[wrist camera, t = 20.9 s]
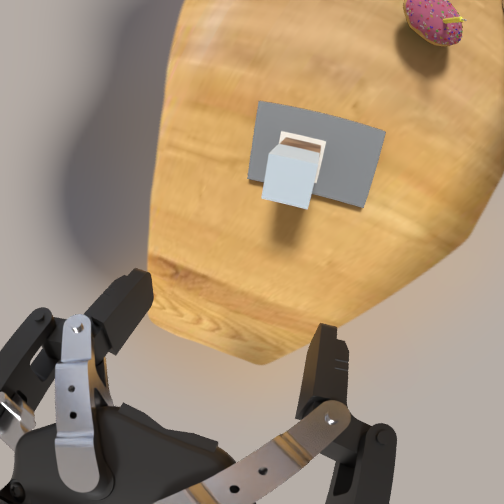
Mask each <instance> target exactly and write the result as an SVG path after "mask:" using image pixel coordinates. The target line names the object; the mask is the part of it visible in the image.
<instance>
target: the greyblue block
mask: <svg viewBox="0 0 504 504" xmlns="http://www.w3.org/2000/svg"><path fill="white" fill-rule="evenodd" d="M319 155H320V153H318V152H314V151H310V150H305V149H301V148H296V147H292V146H287V145H282V144H278V145H277V146H276V147H275V148H274V149H273V150H272V151H271V152H270V153H269V155H268V161H267V168H266V174H265V180H264V186H263V192H262V199H266V200H271V201H275V202H279V203H283V204H287V205H292V206H296V207H300V208H304V209H308V206H309V202H310V198H311V194H312V189H313V185H314V181H315V177H316V172H317V168H318V163H319Z"/></svg>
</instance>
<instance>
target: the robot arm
mask: <svg viewBox="0 0 504 504" xmlns="http://www.w3.org/2000/svg"><path fill="white" fill-rule="evenodd" d="M502 4H503V9H504V0H502ZM153 298H154V295H153V287H152V279H151V274H150V273H149V272H146V271H143V270H140V269H137V268H135V269H133V271H131V273H130V274H129V275H128V276H125V275H124V276H122V277H120V278H118V279H116V280H115V281H114V282H113V283H112V284H111V285H110V286H109V287H108V288H107V289H106V290H105V291H104V292H103V294H102V295H100V297H99V298H98V299H97V300H96V301H95V302H94V303H93V304H92V305H91V306H90V308H89V309H88V310H87V311H86V312H85V313H84V314H83V315H82V314H76V315H73V316H71V317H69V318H68V319H61V318H55V317H53V315H52V313H51V311H50V310H49V309H47V308H38V309H36V310H34V311H33V312H32V313H31V314H30V315H29V316H28V317H27V319H26V320H25V321H24V322H23V323H22V324H21V326H20V327H19V328H18V329H17V330H16V332H15V333H14V334H13V336H12V337H11V338H10V339H9V341H8V342H7V343H6V344H5V346H4V347H3V349H2V350H1V351H0V438H1V439H2V440H3V441H4V442H5V443H6V444H7V445H8V446H9V447H10V448H11V449H12V450H13V451H14V452H15V463H14V471H13V475H12V478H11V480H10V482H9V483H8V484H7V485H6V486H5V487H4V488H3V489H1V490H0V504H256V501H258V500H259V499H261V498H262V497H264V496H265V495H267V494H268V493H269V492H271V491H273V490H274V489H275V488H277V487H278V486H279V485H281V484H282V483H284V482H285V481H286V480H288V479H289V478H290V477H292V476H293V475H294V474H296V473H297V472H298V471H299V470H301V469H302V468H303V467H304V466H306V465H307V464H308V463H309V462H310V460H312V459H313V458H314V457H315V456H316V455H318V454H319V453H321V454H322V455H325V456H327V457H329V458H331V459H333V460H335V461H336V463H335V467H334V472H333V476H332V480H331V485H330V488H329V492H328V496H327V500H326V503H325V504H389V500H390V494H391V488H392V482H393V473H394V466H395V457H396V445H397V436H396V433H395V431H394V430H393V428H392V427H390V426H389V425H387V424H383V423H379V424H375V425H373V426H370V425H368V424H366V423H364V422H361V421H359V420H357V419H356V418H355V417H354V416H353V415H352V414H351V413H350V411H349V410H348V407H347V387H348V365H349V364H348V361H349V350H348V348H347V345H346V343H345V341H342V340H338V339H337V327H335V326H331V325H327V324H323V323H320V324H319V326H318V328H317V330H316V333H315V335H314V337H313V339H312V341H311V343H310V346H309V349H308V352H307V357H306V362H305V369H304V375H303V380H302V386H301V392H300V396H299V402H298V407H297V412H296V417H295V419H299V420H301V421H300V422H298V423H297V424H296V425H294V426H293V427H292V428H290V429H289V430H288V431H287V432H285V433H283V434H280V435H278V436H277V437H275V438H274V439H272V440H271V441H269V442H268V443H266V444H265V445H263V446H262V447H260V448H259V449H257V450H256V451H254V452H253V453H251V454H250V455H248V456H246V457H245V458H243V459H242V460H240V461H238V462H237V463H236V462H235V460H234V459H233V458H232V457H231V456H230V455H229V454H228V453H227V452H225V451H224V450H222V449H221V448H219V447H218V442H217V441H214V440H211V439H208V438H205V437H202V436H200V435H197V434H194V433H187V432H180V431H174V430H168V429H165V428H163V427H162V426H161V425H159V424H158V423H157V422H155V421H154V420H153V419H151V418H150V417H149V416H148V415H146V414H145V413H144V412H141V411H139V410H137V409H135V408H133V407H131V406H129V405H127V404H125V403H123V404H122V405H121V407H116V406H114V405H113V401H112V398H111V395H110V391H109V384H108V376H107V365H106V358H105V356H106V354H107V353H108V352H110V353H112V354H114V355H117V353H118V352H119V350H120V349H121V348H122V346H123V345H124V343H125V342H126V340H127V339H128V338H129V336H130V335H131V334H132V332H133V331H134V329H135V328H136V327H137V325H138V324H139V322H140V321H141V320H142V318H143V317H144V316H145V314H146V313H147V312H148V310H149V309H150V307H151V305H152V303H153ZM41 346H42V348H43V349H42V350H41V352H40V353H39V354H38V356H37V357H36V358H35V360H34V361H33V362H32V364H31V365H30V361H31V359H32V358H33V356H34V355H35V353H36V352H37V351H38V349H39V348H40V347H41ZM54 379H55V409H56V423H54V424H51V425H48V426H45V427H42V428H39V429H35V430H32V429H33V428H34V427H35V426H36V422H35V420H34V419H35V417H34V416H35V415H34V411H35V410H36V408H37V406H38V405H39V403H40V401H41V400H42V398H43V396H44V395H45V393H46V391H47V390H48V388H49V387H50V385H51V383H52V382H53V380H54Z"/></svg>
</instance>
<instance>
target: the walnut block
mask: <svg viewBox="0 0 504 504" xmlns="http://www.w3.org/2000/svg"><path fill="white" fill-rule="evenodd" d="M280 144H282V145H287V146H292V147H296V148H301V149H305V150H310V151H314V152H318V153H320V151H321V145H318V144H314V143H310V142H306V141H301V140H297V139H292V138H288V137H286V138H285V139H284V140H283V141H282V142H281V143H280ZM319 157H320V155H319Z"/></svg>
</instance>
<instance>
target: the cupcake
mask: <svg viewBox="0 0 504 504" xmlns="http://www.w3.org/2000/svg"><path fill="white" fill-rule="evenodd" d="M403 9H404V13H405V16H406V19H407V22H408V25H409V26H410V28H412V29H413V30H414V31H415V32H416V33H417V34H418V35H420V36H421V37H422V38H423V39H425V40H426V41H428V42H429V43H431V44H434V45H438V46H450V45H453V44H456V43H459V41H460V40H461V38H462V28H463V26H462V22H464V20H465V21H466V19H463V18H462V17H460V16H459V13H458V12H457V11H456V10H455V8H454V7H453V6H452V4H451V3H449V1H447V0H404V3H403Z"/></svg>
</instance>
